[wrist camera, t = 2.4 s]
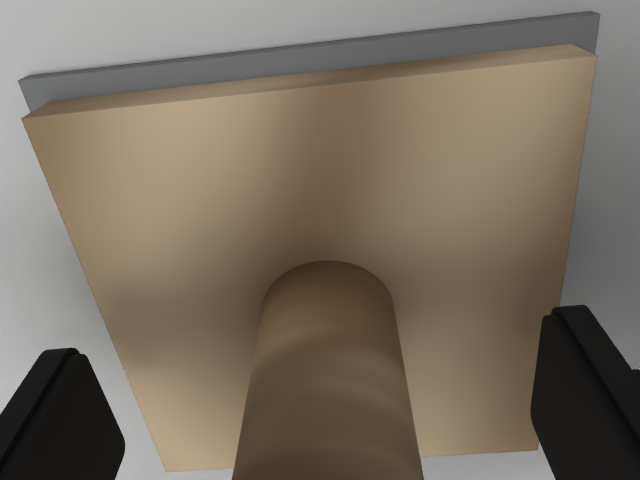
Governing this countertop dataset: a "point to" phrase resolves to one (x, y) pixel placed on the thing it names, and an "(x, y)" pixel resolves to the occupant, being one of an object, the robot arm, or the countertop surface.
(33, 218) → the countertop surface
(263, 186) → the lid
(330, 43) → the mat
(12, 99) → the countertop surface
